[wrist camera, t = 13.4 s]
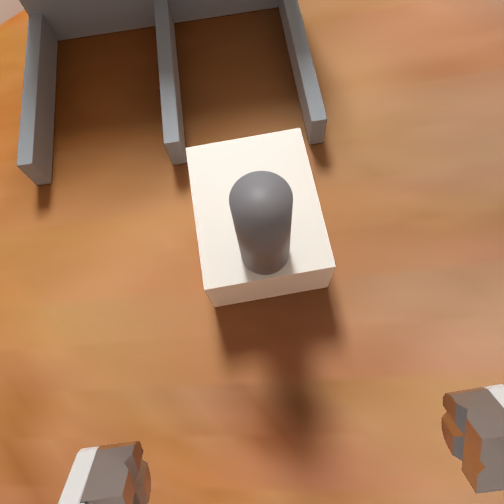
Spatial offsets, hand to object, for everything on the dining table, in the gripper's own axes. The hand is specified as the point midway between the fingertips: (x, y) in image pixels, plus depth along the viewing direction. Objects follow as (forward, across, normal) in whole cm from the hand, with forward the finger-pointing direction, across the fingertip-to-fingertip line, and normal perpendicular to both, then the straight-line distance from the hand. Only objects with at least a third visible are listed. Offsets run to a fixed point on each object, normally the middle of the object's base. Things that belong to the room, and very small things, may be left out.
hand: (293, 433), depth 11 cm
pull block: (+17, 0, +1) cm, 17 cm away
